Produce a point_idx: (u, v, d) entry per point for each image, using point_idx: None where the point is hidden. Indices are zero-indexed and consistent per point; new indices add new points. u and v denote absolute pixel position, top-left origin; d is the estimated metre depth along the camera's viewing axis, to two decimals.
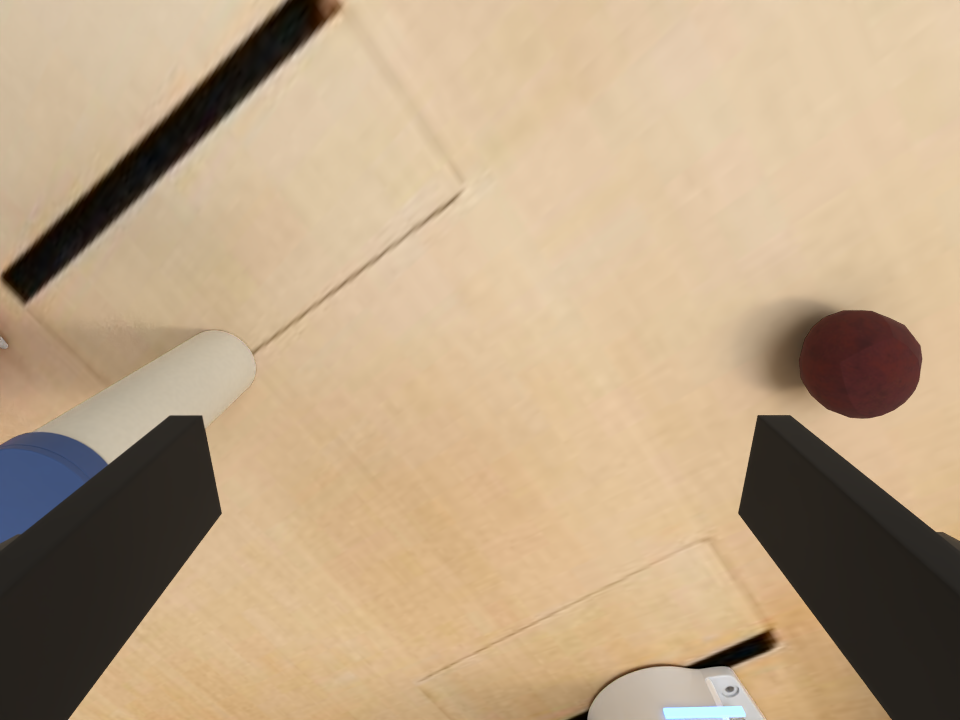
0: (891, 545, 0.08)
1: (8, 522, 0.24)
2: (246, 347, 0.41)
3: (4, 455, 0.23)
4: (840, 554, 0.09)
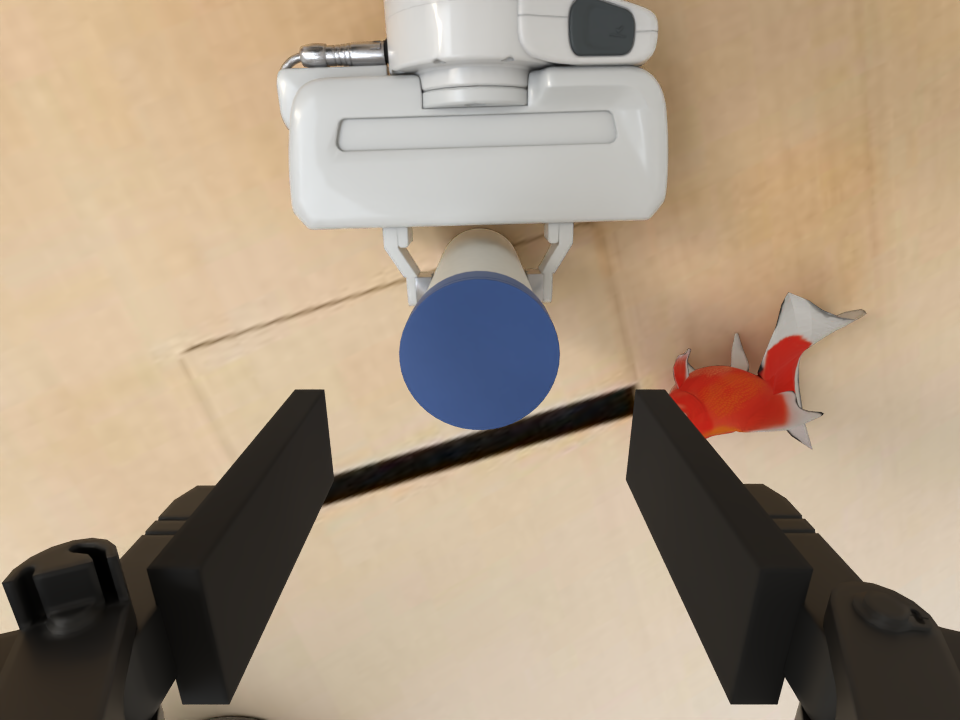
0: (699, 489, 0.10)
1: (519, 348, 0.20)
2: None
3: (467, 422, 0.21)
4: (676, 503, 0.11)
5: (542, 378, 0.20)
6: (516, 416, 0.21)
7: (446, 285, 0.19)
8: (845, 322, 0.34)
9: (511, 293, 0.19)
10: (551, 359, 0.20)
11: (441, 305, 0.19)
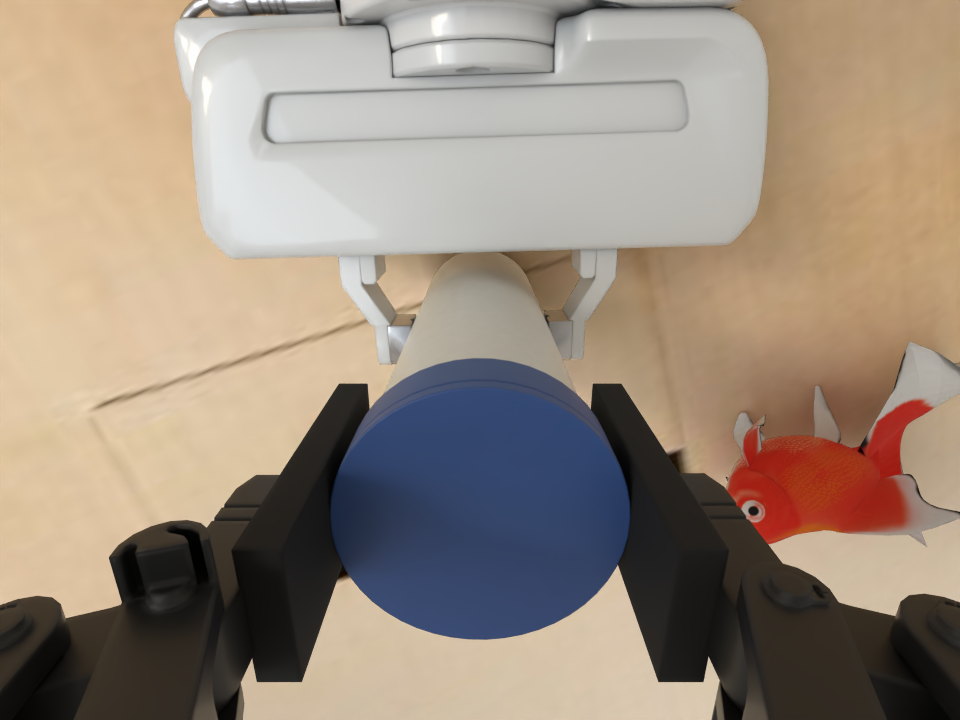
0: (637, 478, 0.10)
1: (555, 510, 0.10)
2: None
3: (458, 628, 0.12)
4: None
5: (596, 558, 0.11)
6: (547, 619, 0.11)
7: (415, 398, 0.10)
8: None
9: (542, 414, 0.10)
10: (614, 527, 0.11)
11: (406, 435, 0.10)
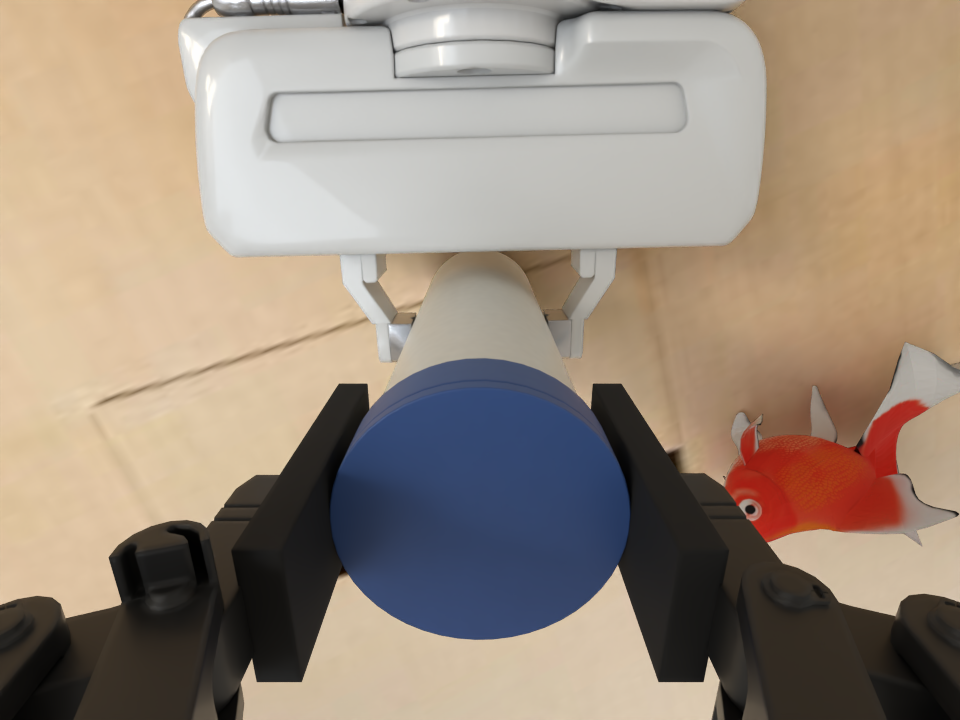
0: (637, 478, 0.10)
1: (428, 475, 0.10)
2: None
3: (614, 495, 0.10)
4: None
5: (463, 412, 0.10)
6: (563, 421, 0.10)
7: None
8: None
9: (343, 528, 0.11)
10: (419, 414, 0.10)
11: (421, 609, 0.11)
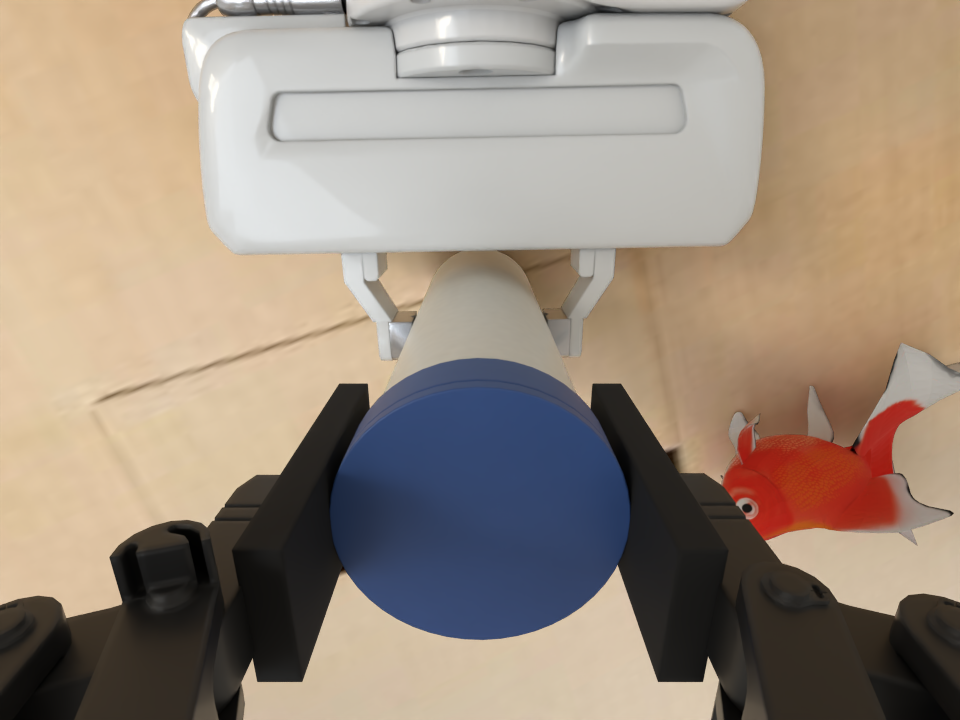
0: (637, 477, 0.10)
1: (449, 582, 0.11)
2: None
3: (384, 435, 0.10)
4: None
5: (377, 580, 0.11)
6: (339, 510, 0.10)
7: None
8: None
9: (536, 621, 0.11)
10: (398, 606, 0.11)
11: (601, 535, 0.11)
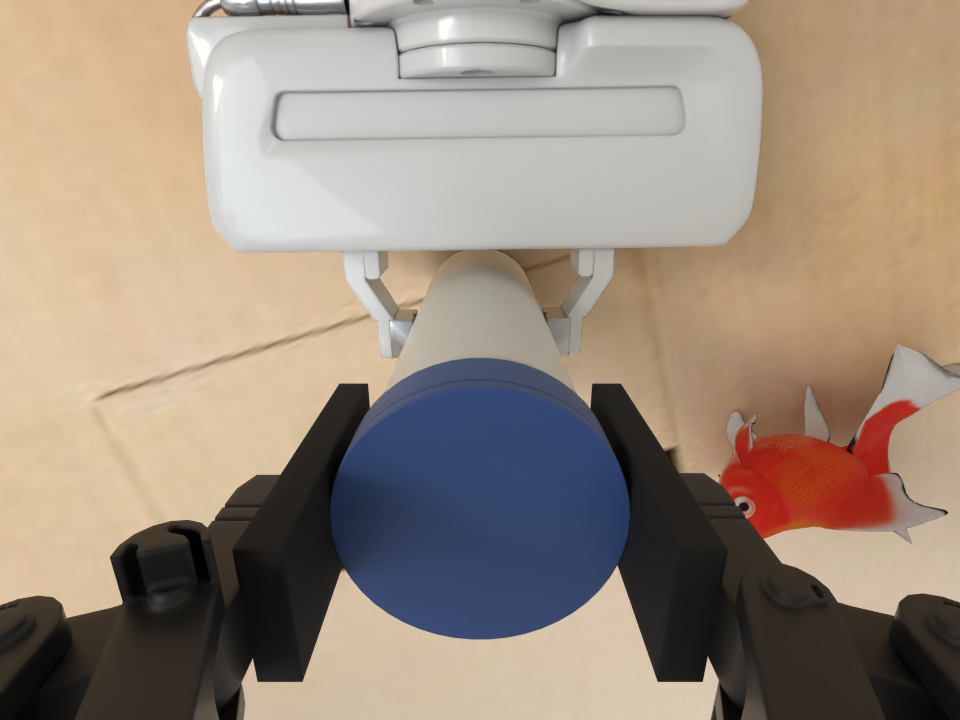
0: (636, 477, 0.10)
1: (557, 525, 0.11)
2: None
3: (430, 622, 0.11)
4: None
5: (582, 579, 0.11)
6: (518, 629, 0.12)
7: (452, 387, 0.10)
8: None
9: (571, 430, 0.10)
10: (607, 553, 0.11)
11: (433, 422, 0.10)
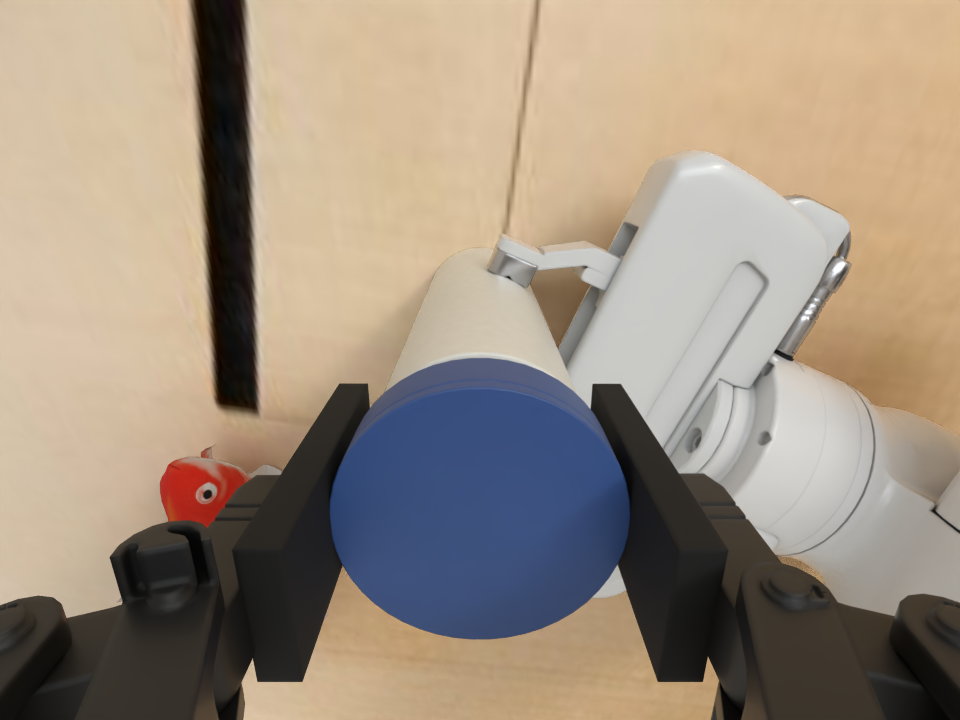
0: (636, 478, 0.10)
1: (556, 525, 0.11)
2: (491, 249, 0.28)
3: (429, 622, 0.11)
4: None
5: (582, 579, 0.11)
6: (518, 629, 0.12)
7: (452, 387, 0.10)
8: None
9: (571, 430, 0.10)
10: (607, 553, 0.11)
11: (433, 422, 0.10)
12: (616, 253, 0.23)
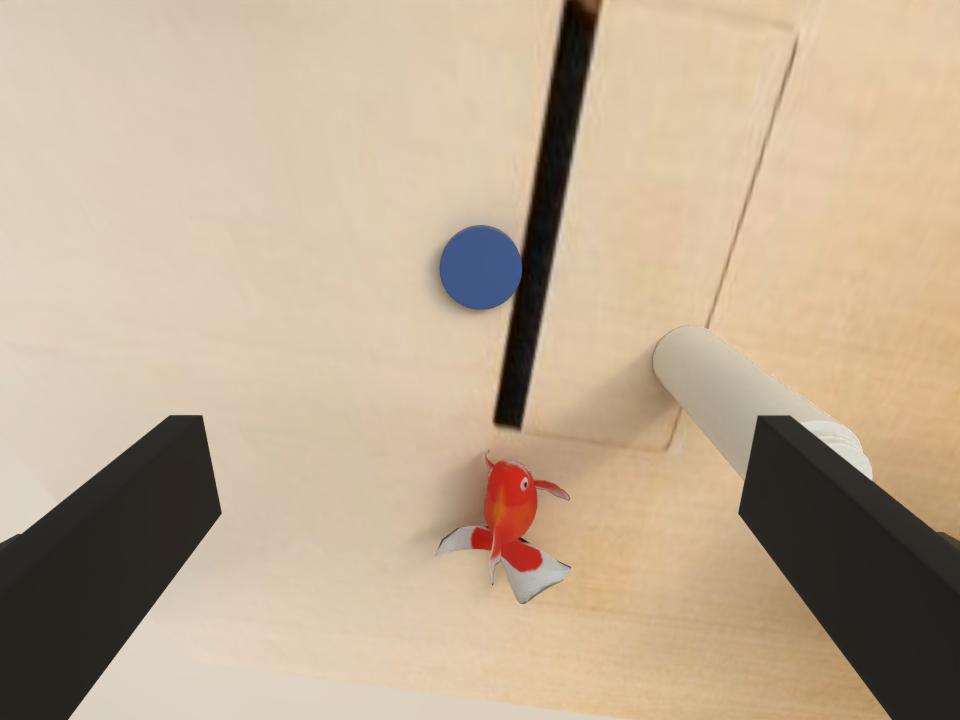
0: (891, 545, 0.08)
1: (501, 269, 0.39)
2: (701, 327, 0.42)
3: (466, 302, 0.40)
4: (840, 554, 0.09)
5: (509, 287, 0.39)
6: (492, 305, 0.40)
7: (473, 228, 0.38)
8: (527, 594, 0.45)
9: (504, 239, 0.38)
10: (516, 278, 0.39)
11: (468, 237, 0.38)
12: None
